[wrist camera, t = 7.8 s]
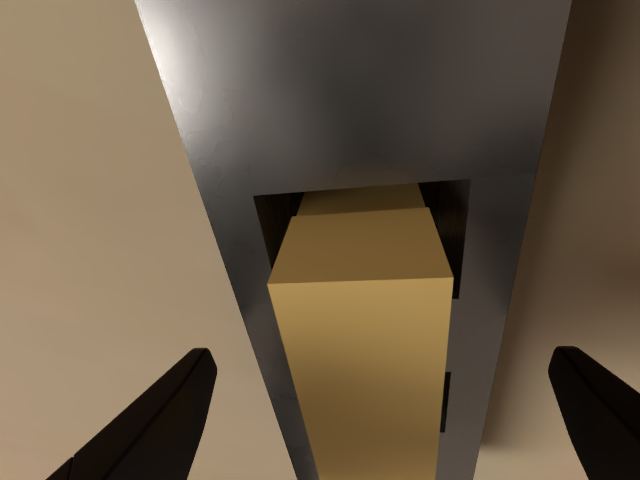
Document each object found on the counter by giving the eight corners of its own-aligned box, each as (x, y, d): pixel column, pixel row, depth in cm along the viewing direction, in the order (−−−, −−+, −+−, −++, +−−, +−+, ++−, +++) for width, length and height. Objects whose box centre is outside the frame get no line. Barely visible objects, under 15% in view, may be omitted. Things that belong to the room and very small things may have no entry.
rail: (450, 444, 17) (465, 515, 15) (314, 439, 18) (306, 504, 16) (535, -243, 6) (663, -440, 3) (163, -147, 7) (52, -244, 4)
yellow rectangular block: (410, 353, 14) (432, 506, 9) (336, 353, 14) (325, 499, 10) (413, 162, 10) (453, 277, 5) (308, 171, 10) (267, 284, 6)
